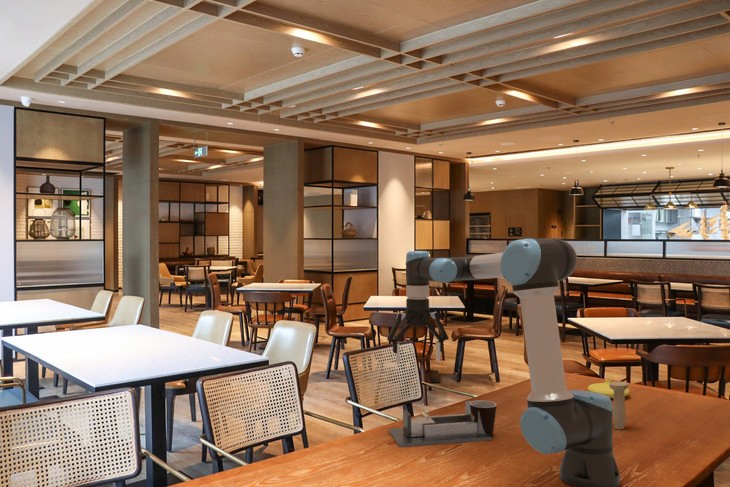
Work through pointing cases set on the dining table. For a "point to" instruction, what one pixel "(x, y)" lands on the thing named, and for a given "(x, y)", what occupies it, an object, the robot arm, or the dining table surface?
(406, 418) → the grey bracket
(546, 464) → the dining table surface
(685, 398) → the dining table surface
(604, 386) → the yellow pot lid
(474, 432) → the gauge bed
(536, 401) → the robot arm
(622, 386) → the handle
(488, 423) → the coffee mug
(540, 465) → the dining table surface
